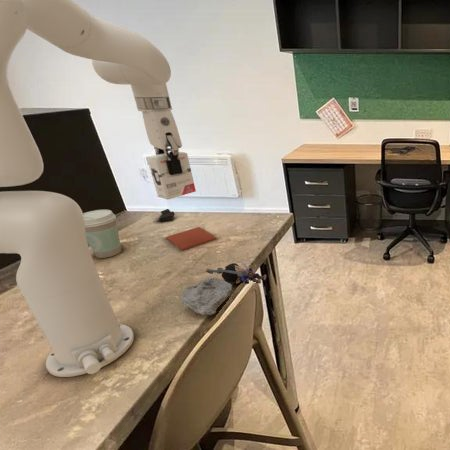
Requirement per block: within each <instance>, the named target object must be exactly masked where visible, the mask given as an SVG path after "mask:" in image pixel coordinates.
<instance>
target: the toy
mask: <svg viewBox="0 0 450 450" xmlns="http://www.w3.org/2000/svg"><path fill="white" fill-rule="evenodd" d="M238 263H239V264H241V265H239V264H238ZM238 263H235V262H232V263H229V264H227V265H226V266H224V268H223V267H217V269H213V268H212V269H210V268H206V270H205V272H206V273H208V274H210V275H213V274H215V273H217V274H219V275H221V276H222V277H221V278H222V279H223V281H226V282H227V283H235V284H239V283H241V281H242V282H243V283H244V284H245V285H246V284H247V285H249V284H250V282H252V283H253V282H256V283H255V284H258V285H260V284H261V283H262V281H266V279H267V274H264V275H261V274H259V273H258V272H254V270H253V269H252V268H251V267H249V266H248V265H247V264H246V263H245V262H243V260H240V261H238Z"/></svg>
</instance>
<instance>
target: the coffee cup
mask: <svg viewBox="0 0 450 450" xmlns="http://www.w3.org/2000/svg"><path fill="white" fill-rule="evenodd" d="M82 213H83V216H84V222H85V232H86V239H87V243H88V246H89V247H90V248H91V251H92V252H93V254H94V256H95V257H96V258H99V259H104V258H105V259H106V258H110V257H114V256H117V255H119V254H120V253H121V252H122V250H123V249H122V245H121V240H120V235H119V229H118V224H117V220H116V219H117V216H116V214H115V213H113V211H112V210H110V209H95V210H90V211H86V212H82Z"/></svg>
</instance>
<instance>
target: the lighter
mask: <svg viewBox="0 0 450 450" xmlns="http://www.w3.org/2000/svg"><path fill="white" fill-rule="evenodd" d="M160 213H161V215H160V216H159V217H157V218H156V222H160V223H163V222H166V221H170V220H172V219H174V217H175V216H176V214H175V212H174V211H171V209H169V208H165V209H164V210H161V211H160Z"/></svg>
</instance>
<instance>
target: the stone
mask: <svg viewBox="0 0 450 450" xmlns="http://www.w3.org/2000/svg"><path fill="white" fill-rule="evenodd" d="M232 290H233V285H232V284H231V282H226V281H225V280H221V279H219V278H217V277H213V276H212V277H210V278H206V279H204V280H202V281H200V282H198V283H197V284H194V285H189V286H187V287H185V288H184V290H183V291H182V294H181V295H180V300H181V302H182V304H183V305H184V306H186V307H187V308H189V309H190V310H192V311H193V312H195V313H196V314H200V315H202V316H207V315H208V316H212V315H215V314H216V313H217V310H218V308H219V307H220V306H221V305H222V304H223V303H224V302H225V301H226V300H227V298H228V297H229V296H230V295H231V293H232Z"/></svg>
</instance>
